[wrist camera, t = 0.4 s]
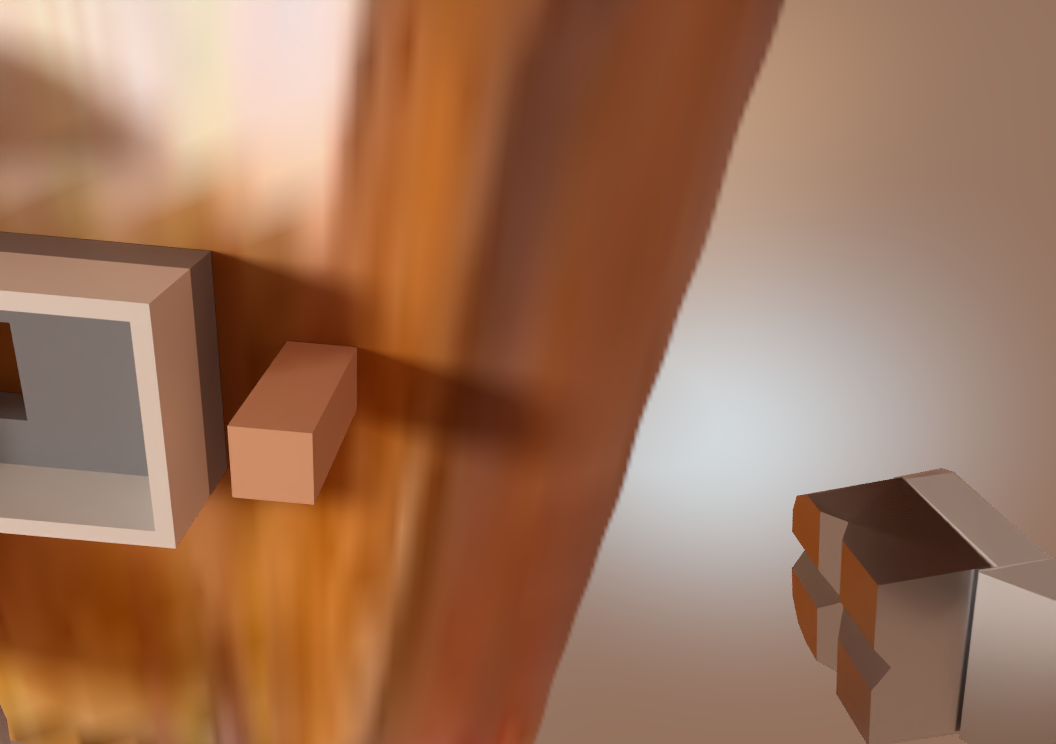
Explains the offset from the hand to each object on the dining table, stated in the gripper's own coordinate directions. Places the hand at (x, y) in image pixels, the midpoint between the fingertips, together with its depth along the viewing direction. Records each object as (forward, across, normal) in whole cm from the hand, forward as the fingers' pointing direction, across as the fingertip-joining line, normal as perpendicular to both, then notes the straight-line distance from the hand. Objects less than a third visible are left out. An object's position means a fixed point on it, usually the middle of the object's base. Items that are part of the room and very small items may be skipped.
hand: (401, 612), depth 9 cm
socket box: (+43, +22, +11) cm, 50 cm away
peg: (+41, +8, +14) cm, 44 cm away
